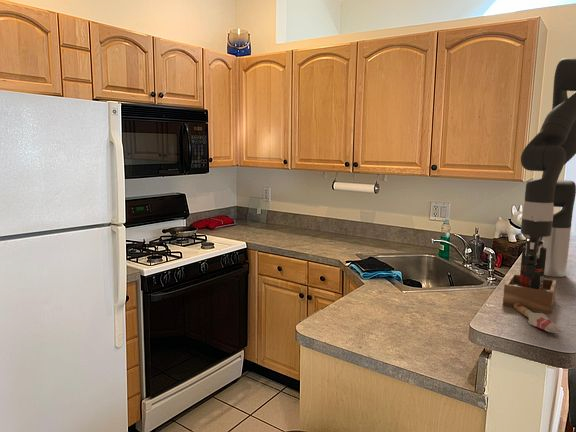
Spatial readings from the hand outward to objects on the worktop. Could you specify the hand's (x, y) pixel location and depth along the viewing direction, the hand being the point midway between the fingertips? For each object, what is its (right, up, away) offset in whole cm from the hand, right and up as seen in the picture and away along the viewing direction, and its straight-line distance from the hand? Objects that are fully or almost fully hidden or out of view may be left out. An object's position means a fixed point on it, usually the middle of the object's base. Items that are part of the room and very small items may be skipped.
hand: (531, 274), depth 125 cm
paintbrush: (-7, -11, -13) cm, 18 cm away
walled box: (0, -8, +1) cm, 8 cm away
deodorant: (0, -7, +1) cm, 8 cm away
